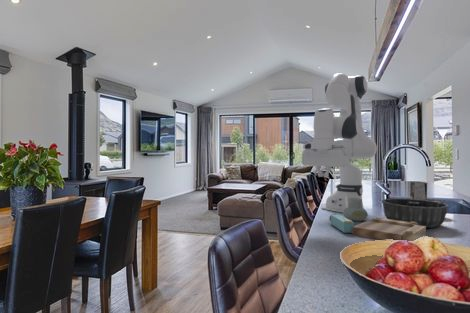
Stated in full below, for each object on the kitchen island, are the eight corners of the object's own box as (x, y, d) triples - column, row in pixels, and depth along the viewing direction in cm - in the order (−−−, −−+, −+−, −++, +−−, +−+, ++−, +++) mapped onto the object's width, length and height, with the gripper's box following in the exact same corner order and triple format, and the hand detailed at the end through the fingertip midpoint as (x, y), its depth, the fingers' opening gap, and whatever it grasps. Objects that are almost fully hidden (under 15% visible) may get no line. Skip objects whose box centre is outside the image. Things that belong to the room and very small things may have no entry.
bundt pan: (412, 217, 171) (413, 196, 171) (463, 229, 146) (463, 205, 146) (368, 220, 162) (369, 199, 162) (414, 233, 137) (415, 208, 137)
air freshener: (347, 221, 159) (347, 200, 158) (340, 218, 167) (340, 197, 167) (370, 221, 159) (370, 200, 159) (362, 218, 167) (362, 197, 167)
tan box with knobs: (352, 234, 135) (352, 223, 135) (372, 226, 150) (372, 215, 150) (413, 245, 120) (413, 232, 120) (428, 234, 135) (428, 223, 135)
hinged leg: (354, 232, 136) (354, 221, 136) (343, 232, 136) (344, 221, 136) (338, 223, 154) (338, 212, 154) (329, 223, 154) (329, 212, 154)
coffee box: (427, 214, 178) (427, 182, 178) (413, 213, 179) (414, 182, 179) (421, 211, 187) (421, 181, 187) (408, 210, 188) (408, 181, 188)
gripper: (349, 145, 147) (349, 177, 147) (307, 145, 161) (306, 175, 161) (343, 145, 142) (342, 178, 142) (299, 145, 156) (299, 175, 156)
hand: (323, 176), depth 152 cm, fingers closed
